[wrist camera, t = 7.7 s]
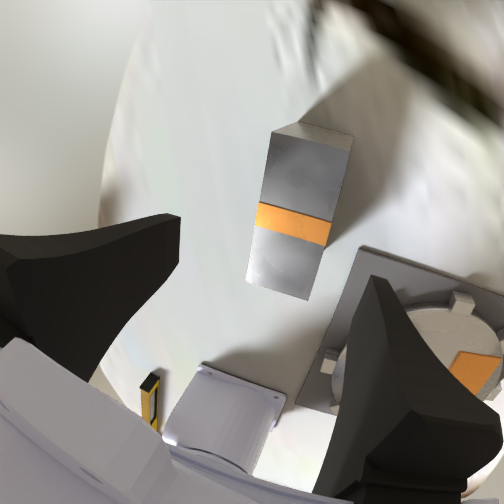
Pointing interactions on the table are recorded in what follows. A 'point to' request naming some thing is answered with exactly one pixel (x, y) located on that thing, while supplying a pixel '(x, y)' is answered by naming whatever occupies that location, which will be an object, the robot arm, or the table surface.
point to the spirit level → (150, 399)
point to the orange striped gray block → (297, 206)
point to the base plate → (408, 292)
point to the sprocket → (445, 346)
